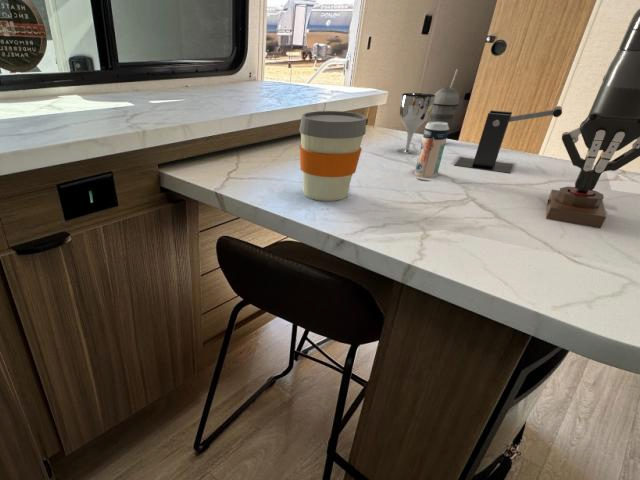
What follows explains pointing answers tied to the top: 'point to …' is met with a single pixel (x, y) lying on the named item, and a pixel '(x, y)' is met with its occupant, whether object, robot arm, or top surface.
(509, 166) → the bracket
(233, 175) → the top surface
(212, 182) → the top surface
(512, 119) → the lever
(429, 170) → the supplement bottle
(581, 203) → the button box
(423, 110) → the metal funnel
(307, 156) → the reusable coffee cup
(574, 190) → the button
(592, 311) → the top surface
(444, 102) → the beverage cup
